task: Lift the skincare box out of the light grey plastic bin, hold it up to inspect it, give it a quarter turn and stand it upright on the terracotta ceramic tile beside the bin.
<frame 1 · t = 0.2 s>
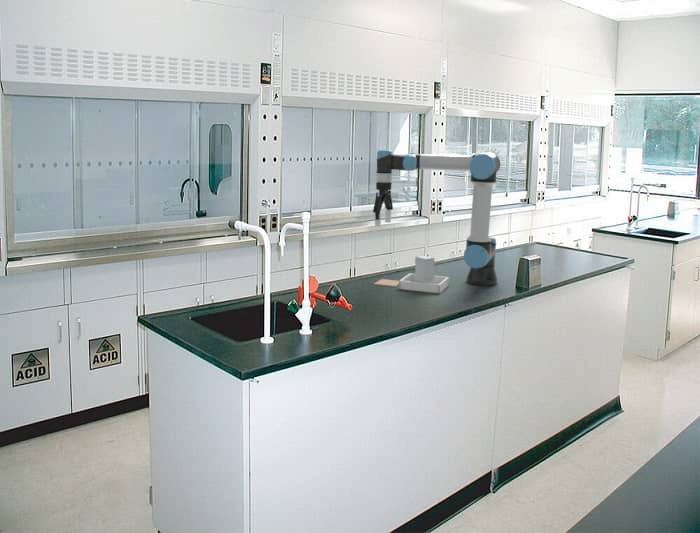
hand: (382, 224, 347), 28 cm above the table, fingers open, 13 cm apart
skincare box: (424, 287, 336), resting in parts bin
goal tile: (388, 283, 341), on the table
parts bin: (424, 286, 336), on the table
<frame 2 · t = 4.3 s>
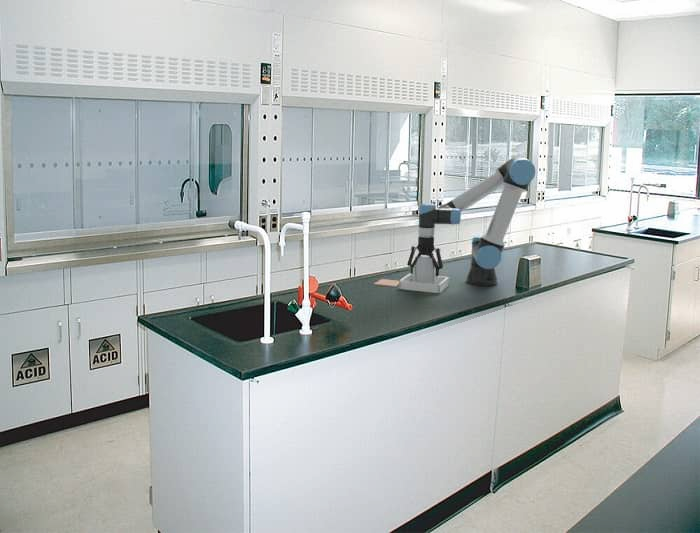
hand: (424, 281, 335), 3 cm above the table, fingers closed on skincare box, 10 cm apart
skincare box: (424, 287, 336), resting in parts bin, touching gripper
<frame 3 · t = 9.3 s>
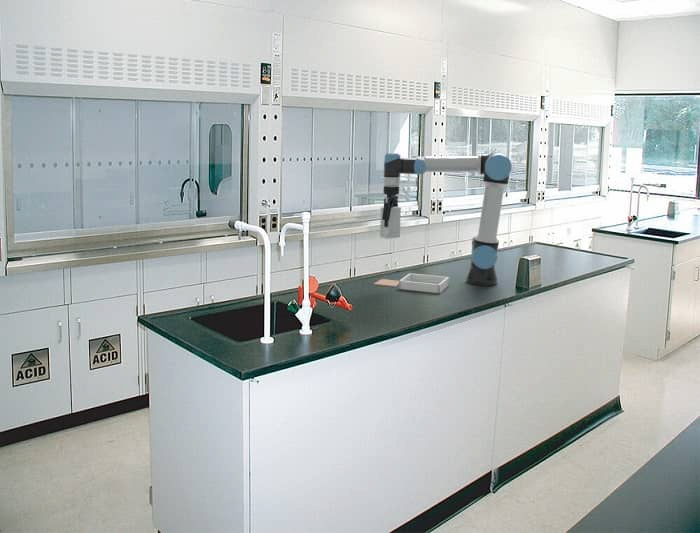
hand: (390, 231, 336), 26 cm above the table, fingers closed on skincare box, 10 cm apart
skincare box: (389, 237, 336), point 23 cm above the table, touching gripper
when the fingers open (5 cm above the table, at t = 14.2 s): skincare box drops 1 cm, resting on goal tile.
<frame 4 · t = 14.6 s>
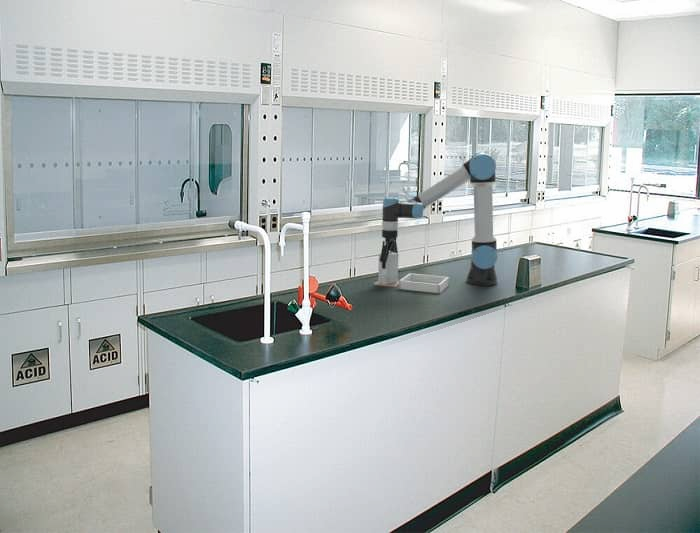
hand: (388, 272, 340), 6 cm above the table, fingers open, 13 cm apart
skincare box: (387, 283, 340), resting on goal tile
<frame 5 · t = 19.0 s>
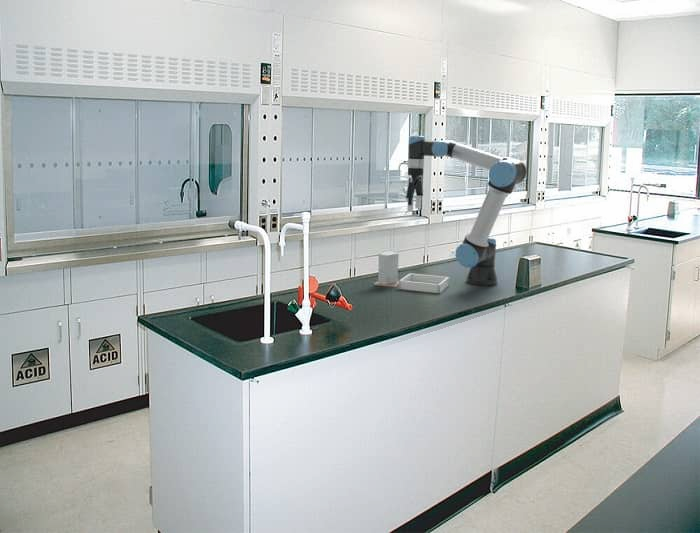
hand: (414, 210, 348), 35 cm above the table, fingers open, 13 cm apart
nothing on the table moved.
at the end: skincare box inside the target area on the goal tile (1.1 cm from its centre), point 0.4 cm above the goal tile's base; skincare box tilted 0°; the gripper is holding nothing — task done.
